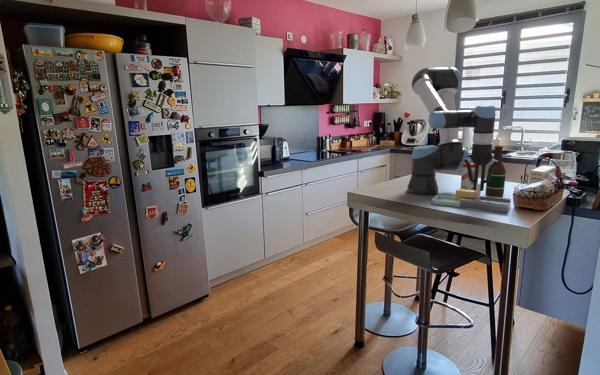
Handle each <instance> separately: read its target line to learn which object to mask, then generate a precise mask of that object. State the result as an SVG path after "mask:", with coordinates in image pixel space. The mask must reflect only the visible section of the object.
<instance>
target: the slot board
mask: <svg viewBox="0 0 600 375" xmlns="http://www.w3.org/2000/svg"><path fill="white" fill-rule="evenodd" d="M511 199H512V198H509V197H502V198H501V197H491V196H486V195H481V194H480V198H479V199H476V200H473V199H464V198H461V199H460V209H468V208H469V209H470V210H476V209H477V210H478V211H484V212H492V213H500V214H501V213H502V214H509V210H510V209H511V201H512V200H511ZM469 209H468V210H469ZM477 210H476V211H477Z"/></svg>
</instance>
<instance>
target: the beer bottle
mask: <svg viewBox="0 0 600 375" xmlns="http://www.w3.org/2000/svg"><path fill="white" fill-rule="evenodd" d="M493 149H494V152H493V159H495V160H498V163H497V164H496V165H495V167H494V169H493V172H492V175H491V177H490V180H489V182H488V183H485V194H484V196H491V197H501V198H504V194H505V193H504V192H505V183H506V173H507V170H506V167H505V166H504V164H503V149H504V146H502V145H495V146H494V147H493ZM491 165H492V164H491V163H490V165H489V166H488V167H487V168H488V169H487V170H486V171H487V172H486V176H487V175H488V173H489V170H490V167H491Z"/></svg>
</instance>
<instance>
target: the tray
mask: <svg viewBox="0 0 600 375" xmlns="http://www.w3.org/2000/svg"><path fill="white" fill-rule="evenodd" d="M430 204H431V205H437V206H443V207H449V208H450V207H452V208H457V209H458V208H460V200H457V199H455V195H448V194H447V195H446V194H438V193H437V194H435V196H434V197H433V198H432V199H430ZM460 209H461V208H460Z"/></svg>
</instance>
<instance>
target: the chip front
mask: <svg viewBox="0 0 600 375" xmlns="http://www.w3.org/2000/svg"><path fill="white" fill-rule="evenodd" d="M465 199H473V200H476V190H466V192H465Z"/></svg>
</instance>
